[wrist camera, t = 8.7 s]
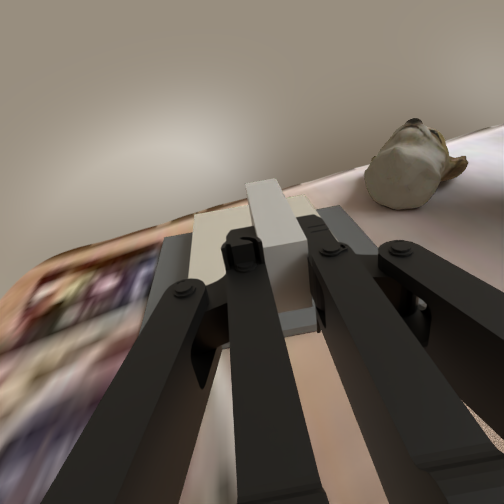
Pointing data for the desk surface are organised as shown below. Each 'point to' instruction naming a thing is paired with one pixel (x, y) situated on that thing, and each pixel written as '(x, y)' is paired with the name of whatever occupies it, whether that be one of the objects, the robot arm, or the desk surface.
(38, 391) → the desk surface
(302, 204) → the glazed tile
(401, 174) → the ceramic sculpture
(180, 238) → the rubber mat
